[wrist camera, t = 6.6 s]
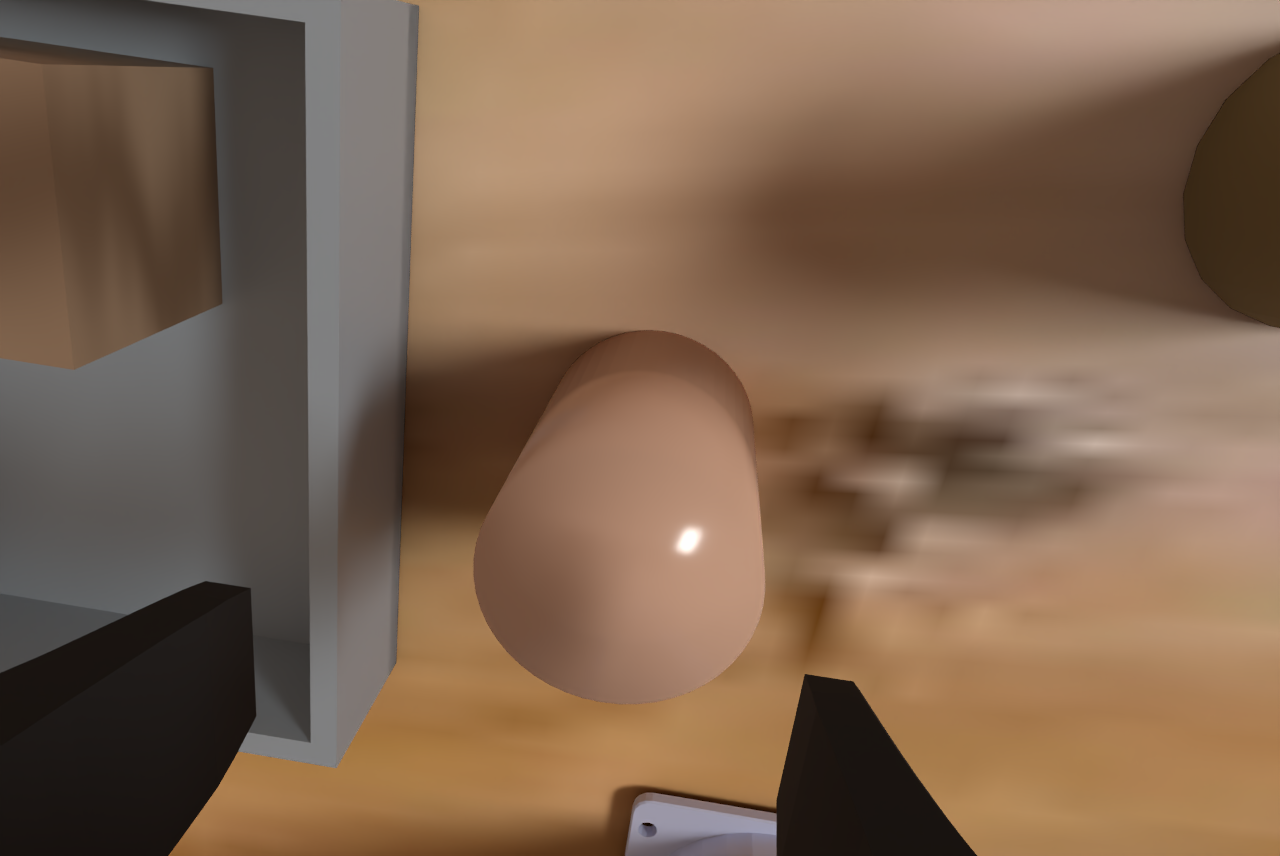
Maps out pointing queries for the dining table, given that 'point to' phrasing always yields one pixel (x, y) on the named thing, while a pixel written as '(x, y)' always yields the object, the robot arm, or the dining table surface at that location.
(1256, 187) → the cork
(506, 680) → the dining table surface
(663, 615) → the terracotta cylinder
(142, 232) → the walnut cube
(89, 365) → the tote
